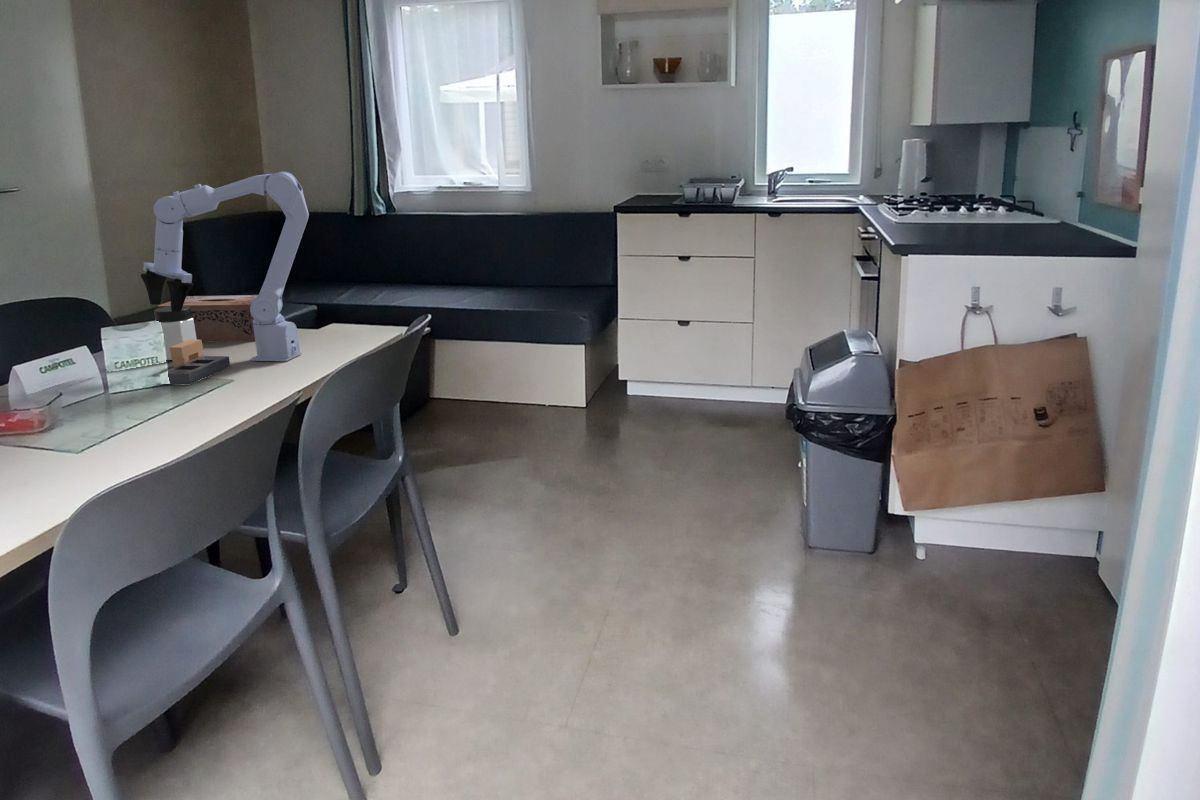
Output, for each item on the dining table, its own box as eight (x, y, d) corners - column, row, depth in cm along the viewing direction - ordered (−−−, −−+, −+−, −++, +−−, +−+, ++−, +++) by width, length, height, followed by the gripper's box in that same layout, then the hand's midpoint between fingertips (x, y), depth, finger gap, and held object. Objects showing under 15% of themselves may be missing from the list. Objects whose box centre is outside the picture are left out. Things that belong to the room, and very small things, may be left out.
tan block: (193, 362, 219) (190, 339, 217) (205, 362, 218) (201, 339, 217) (173, 370, 211) (169, 347, 210) (185, 370, 211) (181, 347, 209)
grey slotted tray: (203, 366, 214) (201, 356, 213) (230, 366, 213) (228, 356, 212) (160, 384, 199) (158, 373, 198) (189, 385, 198) (188, 373, 197)
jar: (202, 356, 224) (195, 308, 220) (167, 362, 219) (159, 313, 215) (191, 351, 230) (184, 304, 227) (157, 356, 226) (149, 308, 222)
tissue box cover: (279, 330, 254) (275, 294, 251) (256, 341, 240) (251, 304, 237) (190, 331, 256) (185, 296, 253) (163, 343, 242) (156, 305, 239)
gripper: (132, 243, 209) (130, 302, 212) (173, 255, 202) (170, 315, 206) (160, 244, 215) (157, 300, 218) (201, 255, 208) (197, 313, 212)
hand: (165, 307), depth 212 cm, fingers open, 7 cm apart
